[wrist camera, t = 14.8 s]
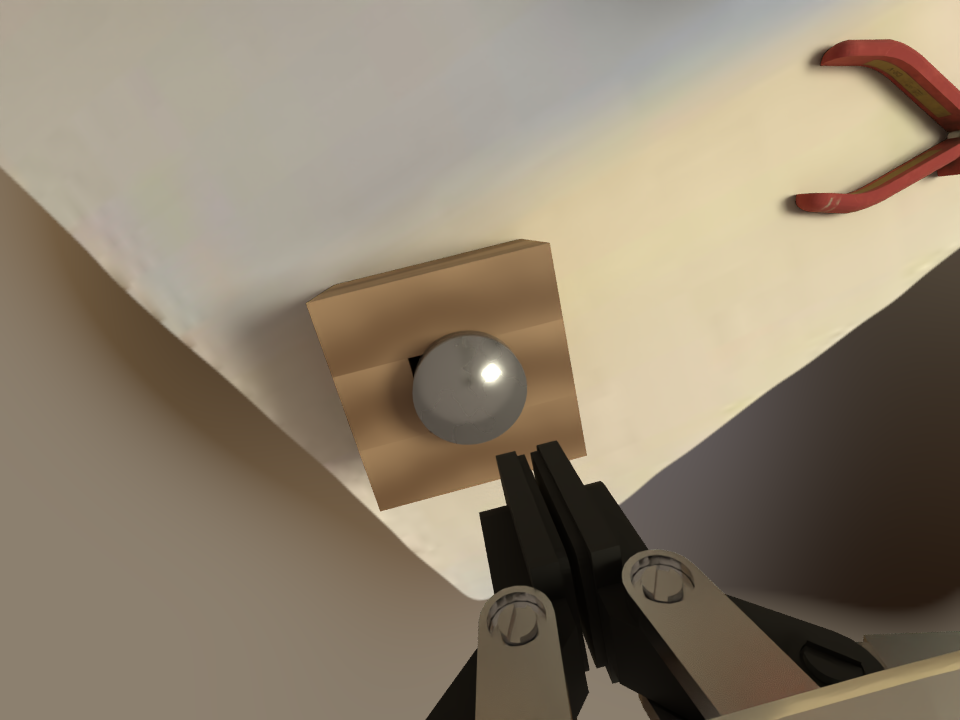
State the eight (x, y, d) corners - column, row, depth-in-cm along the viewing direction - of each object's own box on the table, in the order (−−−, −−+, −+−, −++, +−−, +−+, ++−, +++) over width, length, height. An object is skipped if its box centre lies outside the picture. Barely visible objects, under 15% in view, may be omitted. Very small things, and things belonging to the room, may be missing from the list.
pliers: (1004, 213, 37) (1046, 212, 35) (784, 214, 35) (812, 213, 33) (1055, 56, 34) (1104, 43, 31) (815, 45, 32) (848, 30, 29)
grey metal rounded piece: (405, 321, 32) (398, 353, 24) (492, 299, 33) (514, 323, 25) (428, 402, 34) (429, 457, 26) (510, 380, 35) (536, 428, 27)
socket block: (334, 284, 32) (305, 303, 24) (520, 238, 33) (549, 242, 25) (389, 451, 36) (380, 511, 29) (553, 408, 37) (586, 455, 29)
